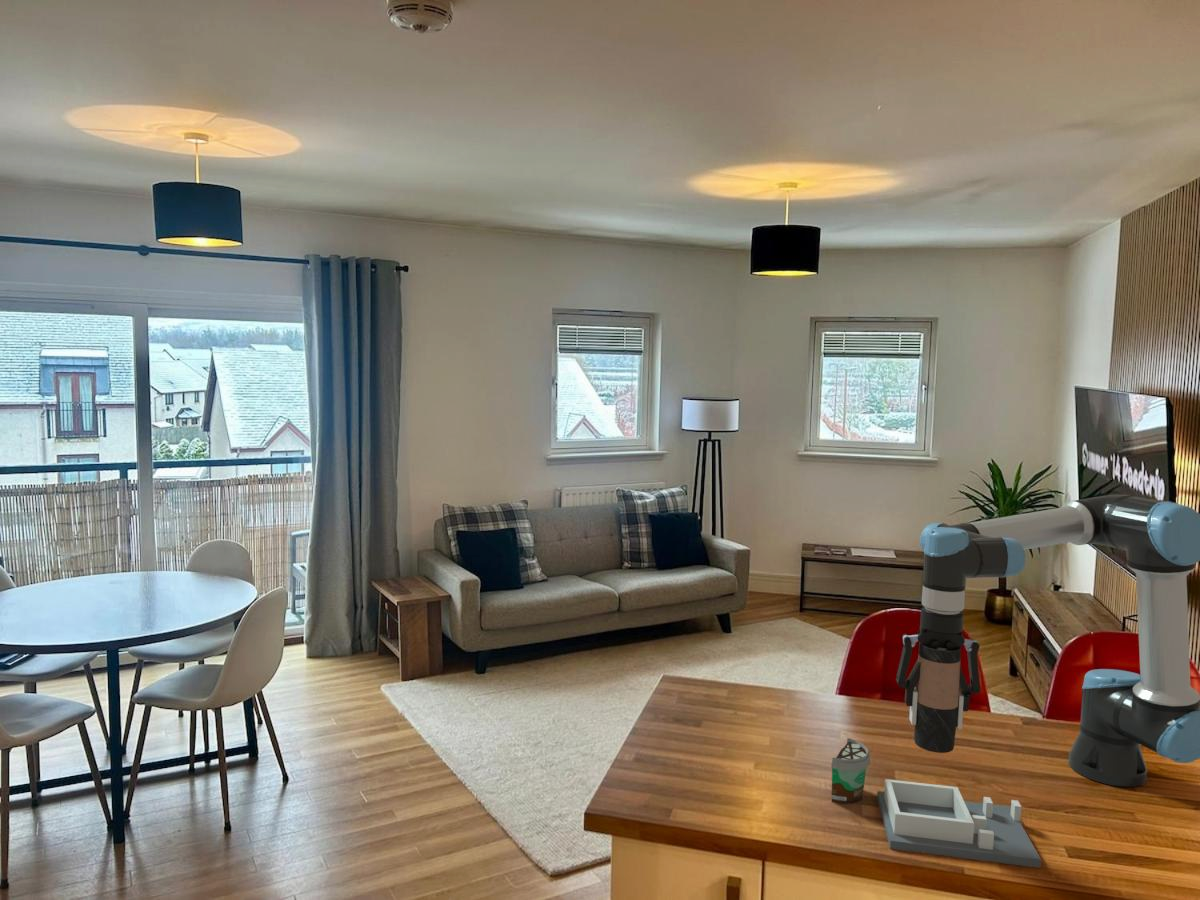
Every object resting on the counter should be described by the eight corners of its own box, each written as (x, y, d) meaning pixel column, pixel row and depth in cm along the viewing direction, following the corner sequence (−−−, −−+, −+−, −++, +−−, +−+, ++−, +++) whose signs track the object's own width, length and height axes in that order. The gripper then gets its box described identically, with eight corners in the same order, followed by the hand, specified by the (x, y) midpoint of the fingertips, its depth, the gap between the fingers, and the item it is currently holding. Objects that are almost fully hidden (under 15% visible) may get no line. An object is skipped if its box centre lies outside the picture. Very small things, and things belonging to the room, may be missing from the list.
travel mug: (959, 755, 156) (966, 652, 154) (916, 751, 157) (922, 649, 156) (950, 738, 163) (956, 640, 162) (909, 734, 165) (915, 636, 163)
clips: (1016, 815, 165) (1017, 800, 164) (1040, 855, 151) (1041, 840, 150) (961, 808, 167) (962, 794, 167) (979, 848, 153) (980, 832, 152)
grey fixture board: (1010, 814, 168) (1011, 806, 168) (1040, 868, 150) (1041, 859, 149) (877, 798, 173) (877, 791, 173) (890, 848, 155) (890, 840, 155)
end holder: (956, 805, 168) (957, 787, 167) (972, 843, 154) (974, 823, 154) (884, 797, 170) (885, 778, 170) (894, 834, 157) (895, 814, 156)
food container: (859, 814, 167) (862, 766, 166) (829, 805, 170) (831, 758, 169) (874, 788, 177) (877, 744, 176) (846, 780, 181) (848, 736, 180)
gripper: (994, 607, 160) (986, 721, 162) (883, 599, 164) (877, 711, 166) (1005, 618, 152) (997, 737, 154) (889, 610, 156) (882, 726, 158)
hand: (935, 724), depth 160 cm, fingers closed on travel mug, 8 cm apart
